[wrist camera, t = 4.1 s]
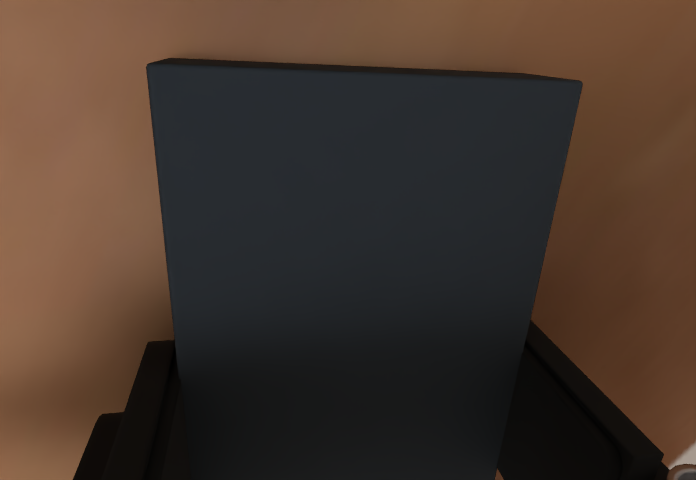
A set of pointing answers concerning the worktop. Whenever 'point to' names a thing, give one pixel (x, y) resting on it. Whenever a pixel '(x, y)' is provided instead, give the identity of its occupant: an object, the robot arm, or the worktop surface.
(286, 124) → the dark blue flat block
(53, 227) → the worktop surface
